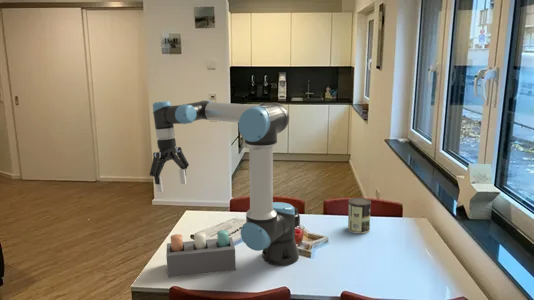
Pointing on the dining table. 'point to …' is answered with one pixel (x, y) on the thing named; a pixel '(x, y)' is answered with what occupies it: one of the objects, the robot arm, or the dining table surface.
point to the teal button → (223, 238)
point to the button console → (200, 259)
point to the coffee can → (359, 215)
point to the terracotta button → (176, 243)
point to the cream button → (200, 240)
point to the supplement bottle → (297, 217)
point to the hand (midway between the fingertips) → (172, 187)
